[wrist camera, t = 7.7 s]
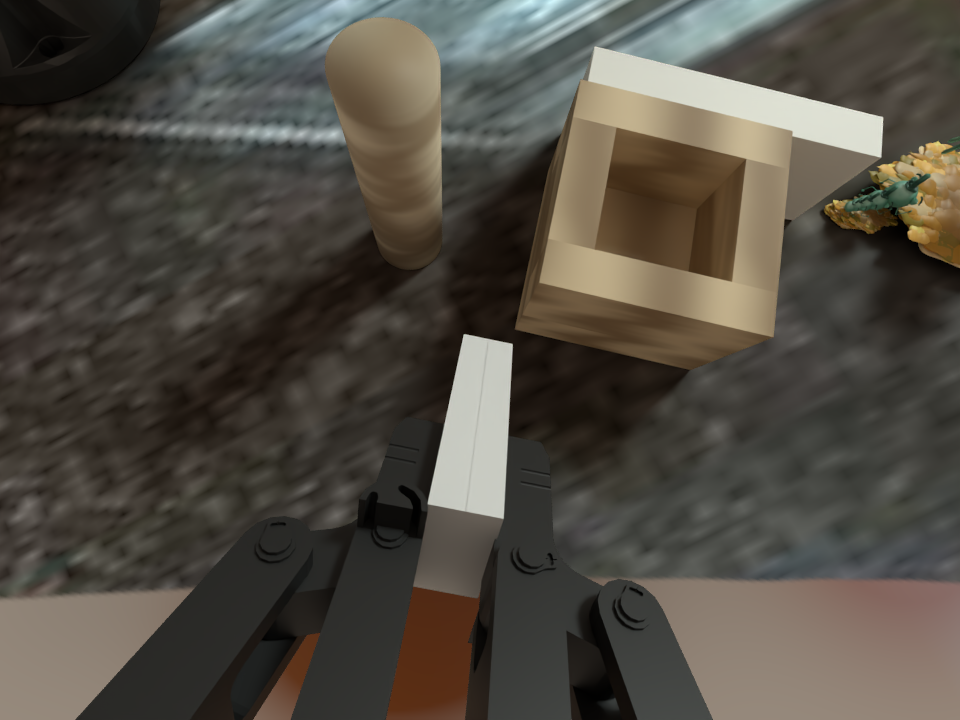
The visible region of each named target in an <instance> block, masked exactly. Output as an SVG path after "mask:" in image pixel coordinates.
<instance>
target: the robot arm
mask: <svg viewBox="0 0 960 720" xmlns="http://www.w3.org/2000/svg"><path fill="white" fill-rule="evenodd" d="M159 6H160V0H0V103H3V104H15V105H29V104H42V103H49V102H55V101H59V100H63V99H67V98H70V97H74V96H76V95H79V94H82V93H84V92H87V91H89V90H91V89H93V88H95V87H97V86H99V85H101V84H103V83H104V82H106V81H108V80H109V79H111V78H112V77H114V76H115V75H117V74H118V73H119V72H120V71H122V70H123V69H124V68H125V67H126V66H127V65H128V64H129V63H130V62H131V61H132V60H133V59H134V58H135V57H136V56H137V55H138V54H139V52H140V51H141V50H142V48H143V47H144V46H145V44H146V42H147V41H148V39H149V37H150V35H151V33H152V31H153V29H154V26H155V24H156V21H157V17H158V13H159ZM512 350H513V344H510V343H505V342H500V341H495V340H491V339H486V338H481V337H476V336H471V335H466V334H464V336H463V341H462V346H461V350H460V355H459V360H458V364H457V369H456V374H455V378H454V383H453V387H452V392H451V397H450V401H449V406H448V411H447V415H446V420H445V424H441V423H436V422H431V421H426V420H421V419H416V418H410V417H406V418H405V419H404V420H403V421H402V422H401V423H400V424H399V425H398V426H397V427H396V428H395V429H394V432H393V435H392V438H391V441H390V444H389V447H388V449H387V452H386V455H385V459H384V461H383V464H382V467H381V470H380V473H379V476H378V479H377V482H376V483H374V484H373V485H371V486H370V487H368V488H367V489H365V491H364V492H363V494H362V495H361V497H360V499H359V508H358V519H356V520H355V521H354V522H352V523H350V524H348V525H345V526H343V527H339V528H334V529H326V530H316V531H310V529H309V528H308V526H307V525H305V524H304V523H303V522H301V521H300V520H298V519H295V518H290V517H286V516H283V517H272V518H268V519H266V520H263V521H261V522H258V523H256V524H255V525H254V526H253V527H251V528H250V529H249V530H248V531H246V532H245V533H244V534H243V536H242V537H241V538H240V539H239V540H238V541H237V542H236V543H235V544H234V546H233V547H232V548H231V549H230V550H229V551H228V552H227V553H226V554H225V555H224V557H223V558H222V559H221V560H220V561H219V562H218V563H217V564H216V565H215V566H214V568H213V569H212V570H211V571H210V572H209V573H208V574H207V575H206V576H205V577H204V579H203V580H202V581H201V582H200V583H199V584H198V585H197V586H196V587H195V588H194V590H193V591H192V592H191V593H190V594H189V595H188V596H187V597H186V598H185V599H184V601H183V602H182V603H181V604H180V605H179V606H178V607H177V608H176V609H175V611H174V612H173V613H172V614H171V615H170V616H169V617H168V618H167V619H166V620H165V622H164V623H163V624H162V625H161V626H160V627H159V628H158V629H157V631H155V633H154V634H153V635H152V636H151V637H150V638H149V639H148V640H147V641H146V643H145V644H144V645H143V646H142V647H141V648H140V649H139V650H138V651H137V652H136V653H135V655H134V656H133V657H132V658H131V659H130V660H129V661H128V662H127V663H126V665H125V666H124V667H123V668H122V669H121V670H120V671H119V672H118V673H117V674H116V676H115V677H114V678H113V679H112V680H111V681H110V682H109V683H108V684H107V685H106V687H105V688H104V689H103V690H102V691H101V692H100V693H99V695H98V696H97V697H96V698H95V699H94V700H93V701H92V702H91V703H90V704H89V705H88V707H86V709H85V710H84V711H83V712H82V713H81V714H80V715H79V716H78V717H77V718H76V720H253V719H254V717H255V716H256V714H257V712H258V711H259V709H260V708H261V706H262V704H263V703H264V701H265V700H266V698H267V697H268V695H269V694H270V692H271V691H272V689H273V687H274V686H275V684H276V683H277V681H278V679H279V678H280V676H281V675H282V673H283V672H284V670H285V669H286V667H287V665H288V664H289V662H290V661H291V659H292V658H293V656H294V654H295V653H296V651H297V650H298V648H299V646H300V645H301V643H302V642H303V640H304V639H305V637H306V636H307V635H308V634H315V633H320V636H319V639H318V642H317V644H316V647H315V650H314V653H313V656H312V659H311V662H310V665H309V668H308V671H307V674H306V676H305V679H304V682H303V686H302V688H301V691H300V694H299V697H298V700H297V703H296V706H295V709H294V711H293V714H292V718H291V720H386V716H387V711H388V707H389V701H390V696H391V692H392V687H393V682H394V677H395V672H396V668H397V663H398V658H399V652H400V648H401V643H402V638H403V634H404V629H405V624H406V619H407V614H408V609H409V604H410V599H411V594H412V589H413V586H414V587H420V588H425V589H431V590H436V591H441V592H447V593H452V594H457V595H463V596H468V597H473V598H478V596H479V593H480V604H479V611H478V614H477V617H476V620H475V622H474V625H473V628H472V632H471V635H470V638H469V641H468V643H472V653H471V664H470V674H469V684H468V695H467V706H466V716H465V720H571V719H572V720H713V719H712V717H711V714H710V712H709V710H708V708H707V706H706V703H705V701H704V699H703V697H702V695H701V693H700V690H699V688H698V686H697V684H696V681H695V679H694V677H693V675H692V673H691V670H690V668H689V666H688V664H687V662H686V659H685V657H684V655H683V653H682V651H681V649H680V646H679V644H678V642H677V640H676V638H675V635H674V633H673V631H672V629H671V627H670V624H669V622H668V620H667V618H666V616H665V613H664V611H663V609H662V608H661V606H660V605H659V603H658V601H657V600H656V599H655V597H654V596H653V595H652V594H651V593H650V592H649V591H647V590H646V589H645V588H644V587H642V586H640V585H638V584H636V583H634V582H632V581H628V580H621V579H617V580H614V581H610V582H608V583H607V584H606V585H605V586H601V585H599V584H598V583H596V582H593V581H592V580H590V579H588V578H586V577H584V576H582V575H580V574H579V573H577V572H575V571H574V570H572V569H571V568H570V567H569V566H568V565H567V564H566V563H565V562H564V561H563V560H562V558H561V557H560V555H559V553H558V552H557V550H556V547H555V544H554V539H553V522H552V501H551V490H550V488H551V480H550V459H549V456H548V454H547V452H546V451H545V449H544V447H543V445H542V443H541V442H537V441H532V440H527V439H522V438H517V437H512V436H508V426H509V407H510V388H511V369H512ZM480 590H481V592H480Z"/></svg>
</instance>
